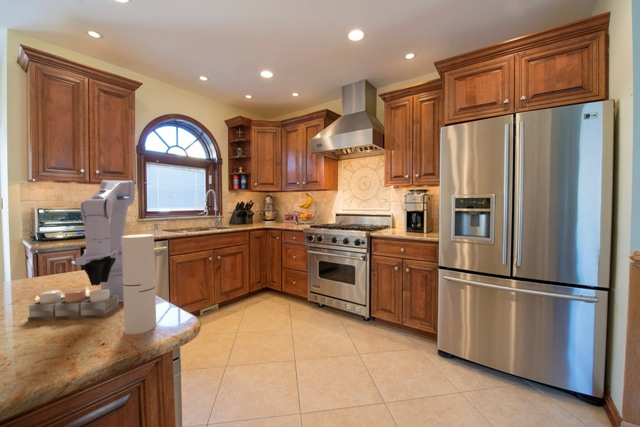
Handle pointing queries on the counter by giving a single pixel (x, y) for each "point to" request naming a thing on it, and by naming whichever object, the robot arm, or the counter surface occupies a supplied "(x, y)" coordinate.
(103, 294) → the knob
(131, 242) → the cylindrical container
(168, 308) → the counter surface
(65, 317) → the mount
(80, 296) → the middle knob
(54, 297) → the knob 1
